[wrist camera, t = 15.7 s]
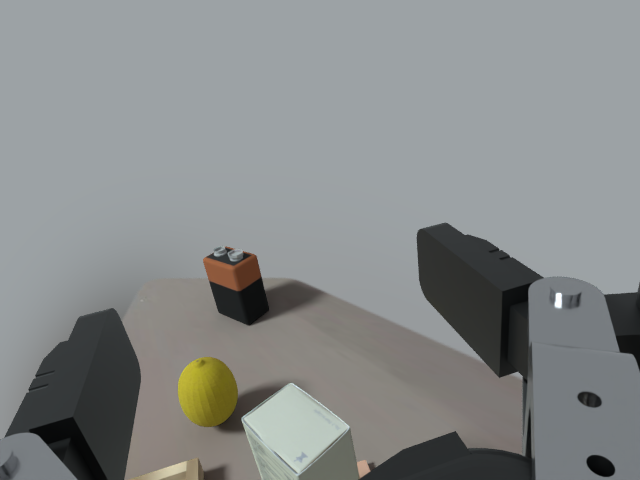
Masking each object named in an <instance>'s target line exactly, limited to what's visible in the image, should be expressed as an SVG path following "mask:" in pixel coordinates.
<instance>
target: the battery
mask: <svg viewBox="0 0 640 480" xmlns="http://www.w3.org/2000/svg"><path fill="white" fill-rule="evenodd" d="M203 262H204V265H205V269H206V272H207V275H208V279H209V282H210V286H211V289H212V292H213V296H214V299H215V302H216V306H217V309H218V312H219V313H221V314H223V315H226V316H228V317H230V318H233V319H235V320H237V321H239V322H242V323H244V324H247V325H249V324H251V323H252V322H254V321H255V320H256V319H258V318H259V317H260V316H262V315H263V314H264V313H266V312H267V311H268V310H269V307H268V302H267V298H266V294H265V290H264V286H263V281H262V277H261V273H260V269H259V265H258V260H257V257H256V255H254V254H251V253H247V252H244V251H242V250H241V249H233V248H230V247H223V246H220V247H217V248H215V249H214V253H212V254H211V255H209V256H207V257H205V258H204V259H203Z"/></svg>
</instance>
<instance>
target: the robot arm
mask: <svg viewBox="0 0 640 480" xmlns="http://www.w3.org/2000/svg"><path fill="white" fill-rule="evenodd" d="M417 250H418V266H419V281H420V285H421V289H422V291H423V293H424V296H425V297H426V299H427V300H428V301H429V302H430V303H431V305H432V306H433V307H434V308H435V309H436V310H437V311H438V312H439V313H440V314H441V315H442V316H443V318H444V319H445V320H446V321H447V322H448V323H449V324H450V325H451V326H452V327H453V328H454V329H455V330H456V332H457V333H458V334H459V335H460V336H461V337H462V338H463V339H464V340H465V341H466V342H467V343H468V344H469V346H470V347H471V348H472V349H473V350H474V351H475V352H476V353H477V354H478V355H479V356H480V357H481V358H482V360H483V361H484V362H485V363H486V364H487V365H488V366H489V367H490V368H491V369H492V370H493V371H494V373H495V374H496V375H497V376H498V377H499V378H500V377H503V376H506V375H509V374H512V373H515V372H519V373H520V374H521V375H522V376H523V379H522V455H519V454H516V453H512V452H507V451H503V450H496V449H488V448H469V449H467V447H466V446H465V444H464V443H463V442H462V440H461V439H460V437H459V436H458V434H457V433H456V431H455V432H452V433H449V434H446V435H443V436H440V437H438V438H435V439H432V440H429V441H426V442H423V443H420V444H418V445H415V446H412V447H409V448H406V449H403V450H402V451H400V452H399V453H397V454H396V455H394V456H393V457H391V458H390V459H388V460H387V461H385V462H384V463H382V464H381V465H379V466H378V467H376V468H375V469H373V470H372V471H370V472H369V473H367V474H366V475H364V476H363V477H361V478H360V479H358V480H640V284H639V288H638V292H636V293H622V294H608V295H604V294H603V293H602V292H601V291H600V290H599V289H598V288H597V287H595V286H593V285H591V284H590V283H587V282H585V281H582V280H579V279H574V278H568V277H548V278H543V277H542V276H540V275H539V274H537V273H536V272H534V271H532V270H531V269H530V268H528V267H526V266H525V265H523V264H522V263H520V262H519V261H517V260H516V259H514V258H510V256H509V255H508V254H507V253H505V252H503V251H502V250H500V251H499V248H497V247H496V246H494V245H493V244H491V243H490V242H488V241H487V240H484V239H481V238H477V237H474V236H471V235H464V234H462V233H461V232H459V231H458V230H457V229H455V228H453V227H452V226H451V225H449V224H448V223H442V224H438V225H434V226H430V227H426V228H423V229H420V230H419V231H418V233H417ZM35 376H36V379H33V381H32V383H31V385H30V387H29V393H26V396H25V397H24V400H23V401H22V404H21V405H20V408H19V410H18V412H17V413H16V415H15V417H14V419H13V422H12V424H11V426H10V427H9V429H8V431H7V433H6V435H5V437H4V438H3V439H0V480H124V477H125V471H126V465H127V459H128V453H129V448H130V442H131V436H132V430H133V424H134V418H135V412H136V407H137V401H138V395H139V389H140V383H141V373H140V367H139V362H138V359H137V356H136V354H135V352H134V349H133V347H132V345H131V342H130V340H129V338H128V335H127V333H126V331H125V328H124V326H123V324H122V321H121V319H120V317H119V315H118V313H117V312H116V310H115V309H113V308H111V309H107V310H103V311H99V312H95V313H92V314H88V315H84V316H80V317H79V318H78V320H77V322H76V324H75V326H74V329H73V331H72V333H71V335H70V338H69V340H68V341H64V342H60V343H59V344H58V345H57V346H56V347H55V348H54V349H53V350H52V351H51V352H50V353H49V354H48V356H46V357H45V358H44V359H43V361H42V363H41V365H40V367H39V369H38V371H37V373H36V375H35Z"/></svg>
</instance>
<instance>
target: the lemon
mask: <svg viewBox="0 0 640 480" xmlns="http://www.w3.org/2000/svg"><path fill="white" fill-rule="evenodd" d="M178 396H179V401H180V404H181V407H182V409H183V411H184V413H185V415H186V416H187V417H188V418H189V419H190V420H191V421H192V422H193V423H195V424H197V425H199V426H204V427H212V426H216V425H219V424H221V423H223V422H224V421H226V420H227V419H228V418H229V417H230V416H231V414H232V413H233V411H234V409H235V407H236V404H237V398H238V389H237V384H236V381H235V378H234V376H233V374H232V372H231V371H230V369H229V368H228V367H227V366H226V365H225V364H224V363H223V362H222V361H220V360H218V359H216V358H212V357H203V358H199V359H196V360H194V361H193V362H191V363H190V364H189V365H188V366H187V367H186V368H185V369H184V370H183V372H182V373H181V376H180V379H179V383H178Z"/></svg>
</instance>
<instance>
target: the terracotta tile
mask: <svg viewBox="0 0 640 480" xmlns="http://www.w3.org/2000/svg"><path fill="white" fill-rule="evenodd" d="M357 467H358V472H359V477H360V478H361V477H363V476H364V475H366V474H367V473H369V472H370V469H369V466H368V464H367V462H366V460H363V461H360V462H357Z"/></svg>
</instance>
